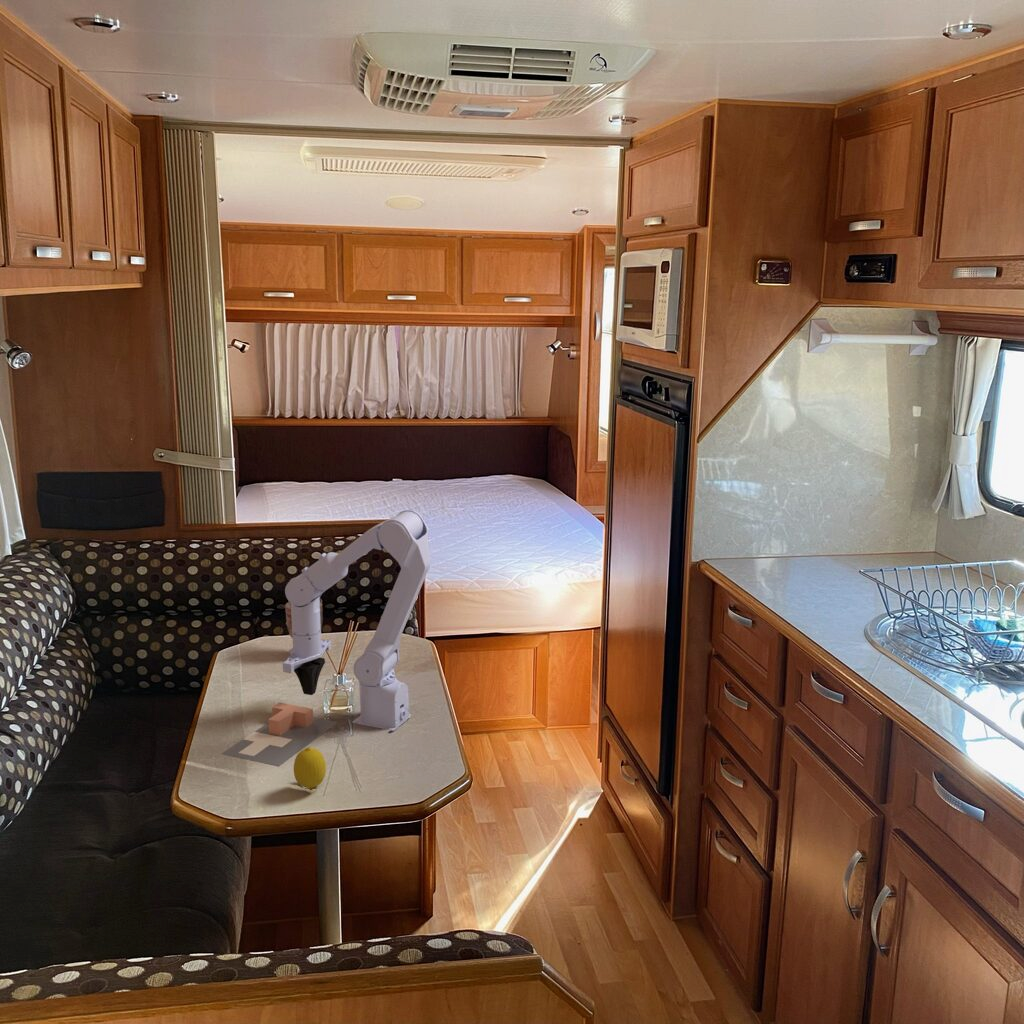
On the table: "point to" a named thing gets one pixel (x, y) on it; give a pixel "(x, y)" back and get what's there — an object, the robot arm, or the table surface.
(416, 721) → the table surface
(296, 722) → the t block
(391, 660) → the robot arm
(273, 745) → the slate board
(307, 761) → the lemon
